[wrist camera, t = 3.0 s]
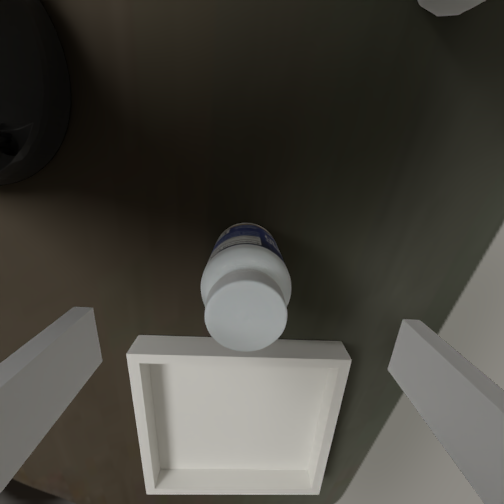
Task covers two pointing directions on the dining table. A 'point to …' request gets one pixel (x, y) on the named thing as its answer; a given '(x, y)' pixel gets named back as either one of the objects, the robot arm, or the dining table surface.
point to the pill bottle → (245, 289)
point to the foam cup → (448, 6)
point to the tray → (235, 414)
